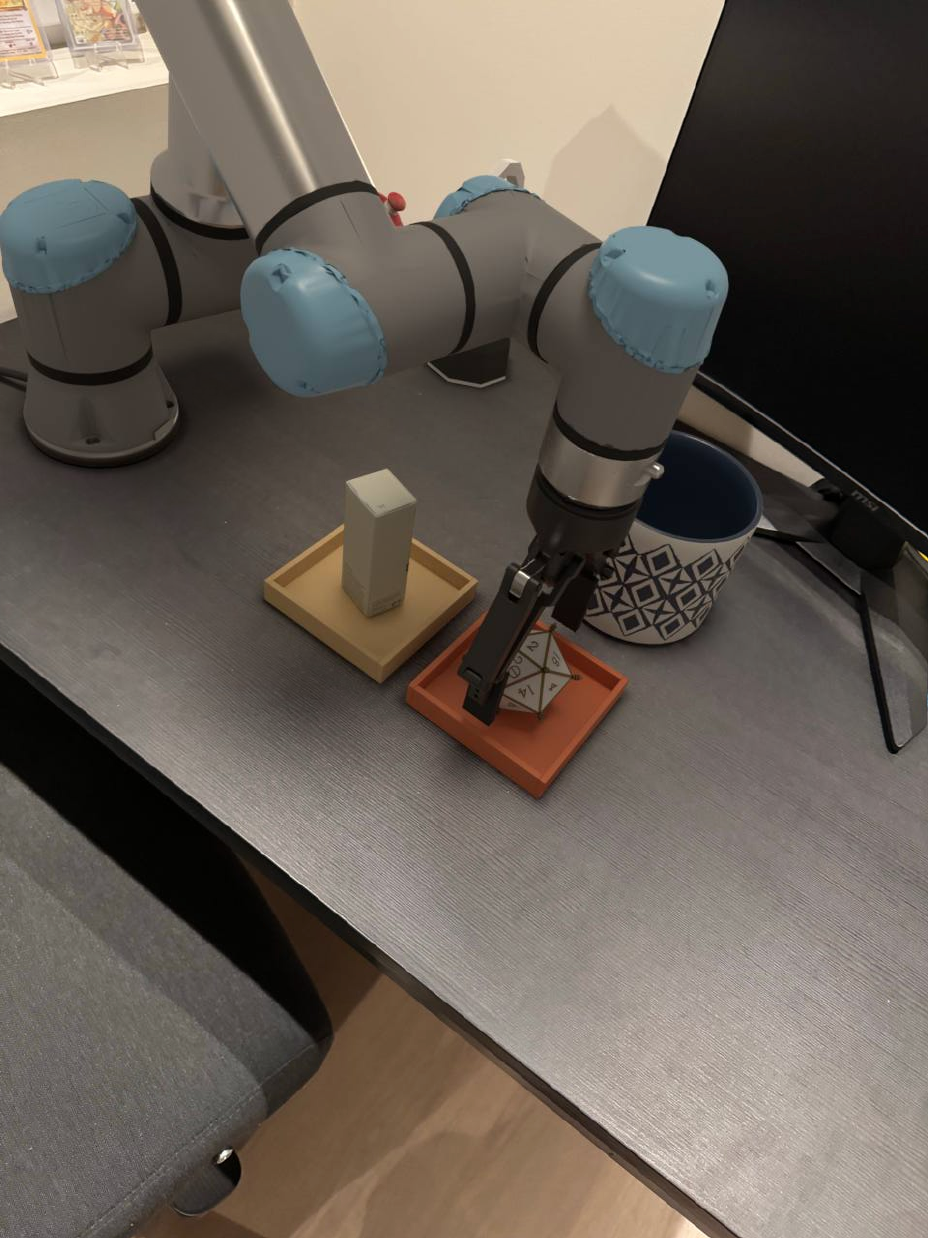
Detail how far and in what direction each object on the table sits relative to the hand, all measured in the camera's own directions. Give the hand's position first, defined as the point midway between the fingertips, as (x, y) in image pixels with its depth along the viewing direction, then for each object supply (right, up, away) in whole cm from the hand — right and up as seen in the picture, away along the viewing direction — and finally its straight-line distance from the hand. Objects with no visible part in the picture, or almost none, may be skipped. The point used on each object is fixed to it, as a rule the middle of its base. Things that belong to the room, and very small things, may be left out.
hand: (523, 666), depth 72 cm
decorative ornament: (-18, +49, +44) cm, 68 cm away
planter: (+12, +7, +15) cm, 20 cm away
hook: (-5, +37, +37) cm, 53 cm away
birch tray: (-14, +6, +8) cm, 17 cm away
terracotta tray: (0, -3, +3) cm, 4 cm away
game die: (-1, -3, +3) cm, 4 cm away
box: (-14, +6, +8) cm, 17 cm away
